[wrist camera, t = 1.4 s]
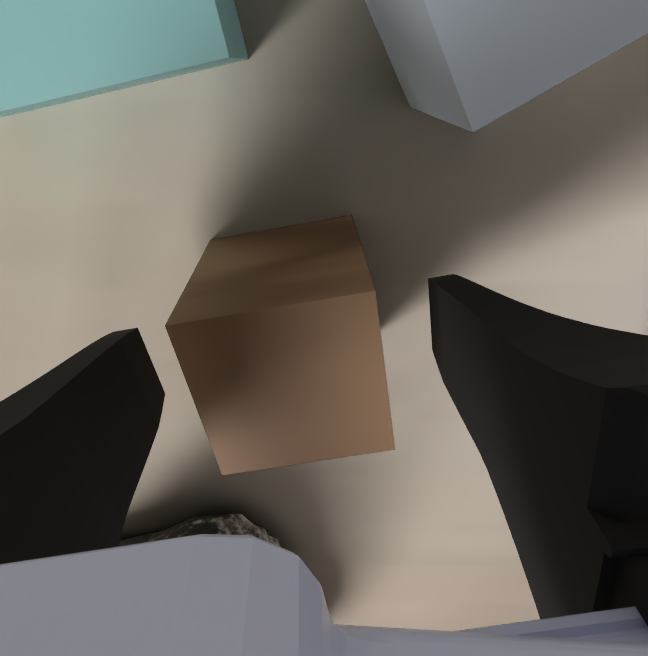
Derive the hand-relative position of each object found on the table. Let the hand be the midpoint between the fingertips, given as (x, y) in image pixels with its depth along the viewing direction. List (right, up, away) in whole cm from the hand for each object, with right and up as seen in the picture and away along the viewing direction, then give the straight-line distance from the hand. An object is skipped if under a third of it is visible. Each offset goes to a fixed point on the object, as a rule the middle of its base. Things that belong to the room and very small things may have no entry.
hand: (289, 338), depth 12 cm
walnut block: (0, +1, +2) cm, 3 cm away
